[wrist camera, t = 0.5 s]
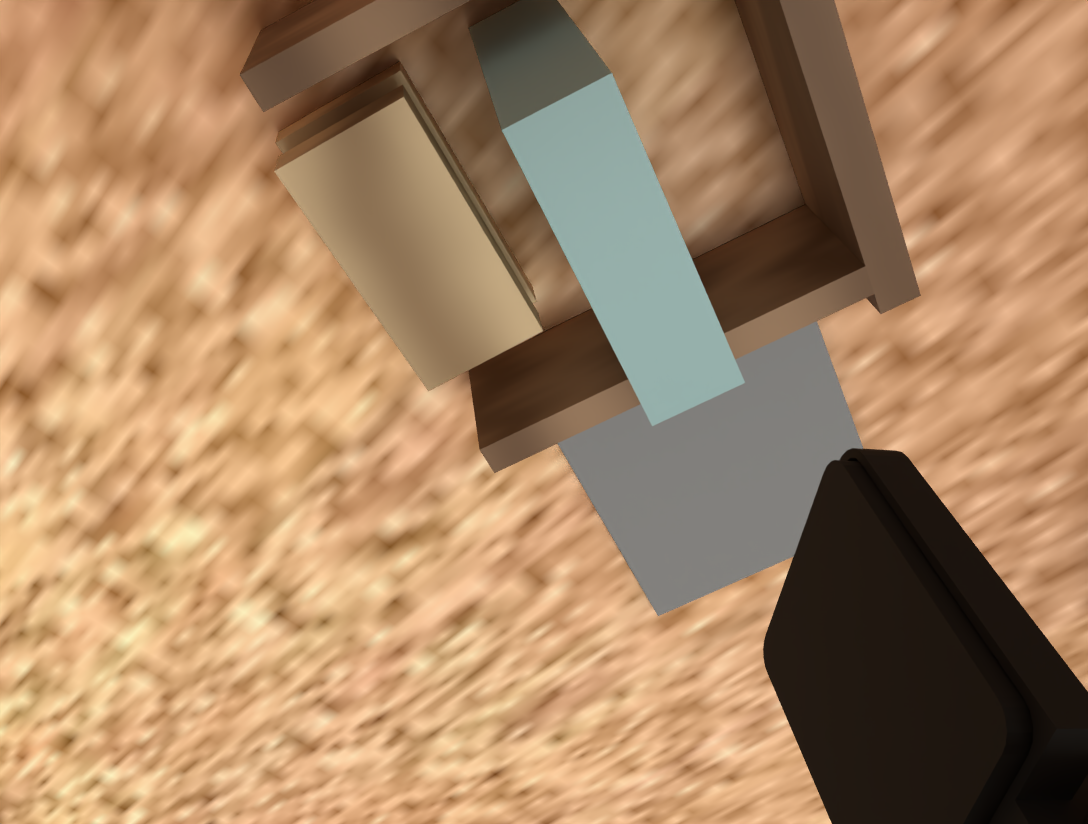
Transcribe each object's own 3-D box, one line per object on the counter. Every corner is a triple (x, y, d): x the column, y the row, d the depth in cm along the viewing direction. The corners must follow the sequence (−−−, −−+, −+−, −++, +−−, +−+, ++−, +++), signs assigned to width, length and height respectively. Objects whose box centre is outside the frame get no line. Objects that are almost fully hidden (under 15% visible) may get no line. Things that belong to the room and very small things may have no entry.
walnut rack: (701, -249, 32) (760, -253, 27) (855, 231, 41) (920, 295, 36) (245, 5, 34) (220, 45, 29) (491, 406, 43) (505, 489, 38)
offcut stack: (399, 60, 36) (402, 94, 32) (531, 285, 41) (547, 337, 37) (279, 130, 37) (267, 171, 33) (423, 342, 42) (428, 399, 38)
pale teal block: (546, -15, 35) (611, 73, 25) (654, 229, 40) (744, 382, 30) (468, 27, 35) (501, 130, 25) (585, 263, 41) (652, 426, 31)
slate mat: (803, 291, 43) (807, 297, 42) (882, 507, 49) (887, 514, 49) (543, 415, 44) (545, 422, 44) (655, 607, 51) (658, 616, 50)
